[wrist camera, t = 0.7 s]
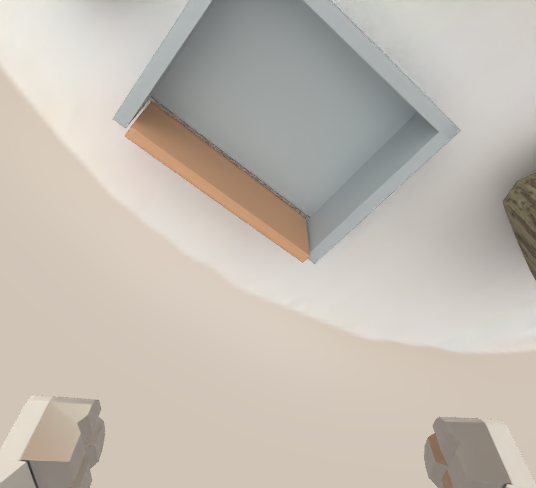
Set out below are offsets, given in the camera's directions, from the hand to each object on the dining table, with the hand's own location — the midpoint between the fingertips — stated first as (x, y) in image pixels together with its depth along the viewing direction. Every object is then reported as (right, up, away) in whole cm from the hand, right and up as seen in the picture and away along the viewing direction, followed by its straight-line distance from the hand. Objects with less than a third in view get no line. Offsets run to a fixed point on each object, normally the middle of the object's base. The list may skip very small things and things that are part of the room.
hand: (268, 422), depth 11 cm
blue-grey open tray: (+2, +18, +31) cm, 36 cm away
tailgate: (-4, +12, +34) cm, 36 cm away
